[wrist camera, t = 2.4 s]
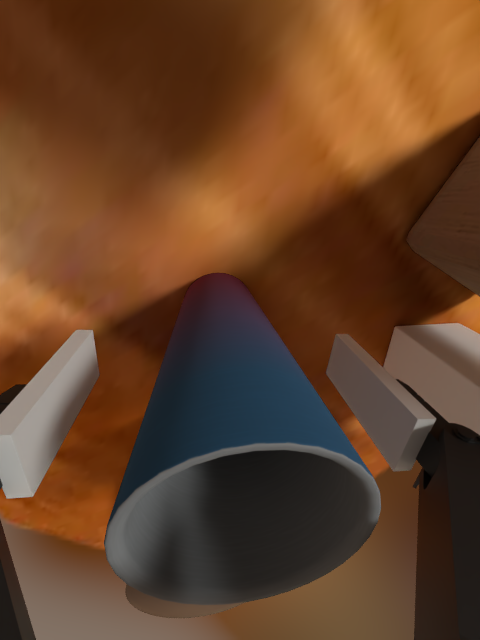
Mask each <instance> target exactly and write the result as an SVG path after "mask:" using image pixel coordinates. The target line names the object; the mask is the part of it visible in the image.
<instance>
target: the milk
mask: <svg viewBox="0 0 480 640" xmlns="http://www.w3.org/2000/svg"><path fill="white" fill-rule="evenodd" d="M383 368H384V369H385V370H386V371H387V372H388V373H389V374H390V375H391V376H392V377H394V378H395V379H399V380H400V381H402V382H404V383H405V384H407V385H409V386H410V387H411V388H412V389H413V390H414V391H415V392H416V393H417V395H420V396H421V397H422V398H423V399H424V401H426V402H427V403H428V404H429V405H430V406H431V407H432V408H434V409H435V410H436V411H437V412H438V413H439V414H440V415H441V416H442V417H443V418H444V419H445V420H447V421H448V422H449V423H456V424H460V425H463V426H465V427H467V428H469V429H471V430H473V431H474V432H476V433H477V434H479V435H480V334H478V333H476V332H474V331H473V330H471V329H469V328H467V327H465V326H463V325H461V324H459V323H447V324H428V325H409V326H395V328H394V331H393V335H392V338H391V342H390V345H389V348H388V352H387V355H386V359H385V362H384V366H383Z"/></svg>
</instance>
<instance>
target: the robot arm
mask: <svg viewBox="0 0 480 640" xmlns="http://www.w3.org/2000/svg"><path fill="white" fill-rule="evenodd" d="M326 374H327V376H328V377H329V379H330V380H331V382H332V383H333V385H334V386H335V387H336V389H337V390H338V392H339V393H340V395H341V396H342V398H343V399H344V400H345V402H346V403H347V405H348V406H349V408H350V409H351V411H352V412H353V413H354V415H355V416H356V418H357V419H358V421H359V422H360V424H361V425H362V426H363V428H364V429H365V431H366V432H367V434H368V435H369V436H370V438H371V439H372V441H373V442H374V444H375V445H376V447H377V448H378V449H379V451H380V452H381V454H382V455H383V457H384V458H385V460H386V461H387V462H388V464H389V465H390V467H391V468H392V470H393V471H407V470H411V469H412V467H413V465H414V463H415V461H416V460H417V461H418V462H419V463H420V465H421V466H422V469H421V472H420V473H419V475H418V477H417V479H416V481H415V483H414V485H413V487H414V488H416V487H417V485H419V505H418V536H417V539H418V540H417V567H416V598H415V629H414V640H480V435H479V434H477V433H476V432H474V431H473V430H471V429H469V428H467V427H465V426H463V425H460V424H456V423H449V422H448V421H447V420H445V419H444V418H443V417H442V416H441V415H440V414H439V413H438V412H437V411H436V410H435V409H434V408H432V407H431V406H430V405H429V404H428V403H427V402H426V401H424V399H423V398H422V397H421V396H420V395H417V393H416V392H415V391H414V390H413V389H412V388H411V387H410V386H409V385H407V384H405V383H404V382H402V381H400V380H399V379H395V378H394V377H392V376H391V375H390V374H389V373H388V372H387V371H386V370H385V369H384V368H383V367H382V366H381V365H380V364H379V363H378V362H377V361H376V360H375V359H374V358H373V357H372V356H371V355H370V354H368V353H367V352H366V351H365V350H364V349H363V348H362V347H361V346H360V345H359V344H358V343H357V342H356V341H355V340H354V339H353V338H352V337H351V336H350V335H349V334H336V335H335V339H334V343H333V347H332V351H331V355H330V359H329V362H328V366H327V370H326ZM98 377H99V368H98V361H97V355H96V348H95V342H94V335H93V330H76V331H75V332H74V333H73V334H72V335H71V336H70V337H69V338H68V340H67V341H66V342H65V343H64V344H63V345H62V346H61V347H60V348H59V350H58V351H57V352H56V353H55V354H54V355H53V356H52V357H51V359H50V360H49V361H48V362H47V363H46V364H45V365H44V366H43V367H42V369H41V370H40V371H39V372H38V373H37V374H36V375H35V376H34V377H33V379H32V380H31V381H30V382H29V383H28V384H27V385H15V386H13V387H12V388H10V389H9V390H7V391H5V392H4V393H2V394H1V395H0V489H1V487H2V488H3V491H4V493H5V495H6V498H21V497H33V496H34V494H35V492H36V490H37V488H38V487H39V485H40V483H41V481H42V479H43V477H44V476H45V474H46V472H47V470H48V468H49V467H50V465H51V463H52V461H53V459H54V457H55V456H56V454H57V452H58V450H59V448H60V446H61V445H62V443H63V441H64V439H65V437H66V436H67V434H68V432H69V430H70V428H71V426H72V425H73V423H74V421H75V419H76V417H77V415H78V414H79V412H80V410H81V408H82V406H83V405H84V403H85V401H86V399H87V397H88V395H89V394H90V392H91V390H92V388H93V386H94V384H95V383H96V381H97V379H98ZM0 640H36V638H35V635H34V631H33V628H32V625H31V621H30V618H29V615H28V611H27V608H26V605H25V601H24V598H23V595H22V591H21V588H20V584H19V581H18V578H17V574H16V571H15V568H14V564H13V561H12V557H11V554H10V551H9V548H8V544H7V541H6V537H5V534H4V531H3V527H2V524H1V520H0Z"/></svg>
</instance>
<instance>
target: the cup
mask: <svg viewBox="0 0 480 640" xmlns="http://www.w3.org/2000/svg"><path fill="white" fill-rule="evenodd" d="M380 510H381V500H380V491H379V489H378V486H377V484H376V482H375V480H374V478H373V476H372V474H371V473H370V471H369V470H368V468H367V467H366V465H365V464H364V462H363V461H362V459H361V458H360V456H359V455H358V453H357V452H356V450H355V449H354V447H353V446H352V444H351V443H350V441H349V440H348V438H347V437H346V435H345V434H344V432H343V431H342V429H341V428H340V426H339V425H338V423H337V422H336V420H335V419H334V417H333V416H332V414H331V413H330V411H329V410H328V408H327V407H326V405H325V404H324V402H323V401H322V399H321V398H320V396H319V395H318V393H317V392H316V390H315V389H314V387H313V386H312V384H311V383H310V381H309V380H308V378H307V377H306V375H305V374H304V372H303V371H302V369H301V368H300V366H299V365H298V363H297V362H296V361H295V359H294V358H293V356H292V355H291V353H290V352H289V350H288V349H287V347H286V346H285V344H284V343H283V341H282V340H281V338H280V337H279V335H278V334H277V332H276V331H275V329H274V328H273V326H272V325H271V323H270V322H269V320H268V319H267V317H266V316H265V314H264V313H263V311H262V310H261V308H260V307H259V305H258V304H257V302H256V301H255V299H254V298H253V296H252V295H251V293H250V292H249V290H248V289H247V287H246V286H245V285H244V284H243V282H241V281H240V280H239V279H238V278H236V277H234V276H232V275H229V274H225V273H212V274H208V275H205V276H202V277H201V278H199V279H197V280H196V281H195V282H194V283H192V284H191V286H190V287H189V288H188V290H187V292H186V294H185V297H184V300H183V303H182V306H181V308H180V311H179V314H178V317H177V320H176V323H175V326H174V329H173V332H172V335H171V338H170V341H169V344H168V347H167V350H166V353H165V356H164V359H163V362H162V365H161V368H160V371H159V374H158V377H157V380H156V383H155V386H154V388H153V391H152V394H151V397H150V400H149V403H148V406H147V409H146V412H145V415H144V418H143V421H142V424H141V427H140V430H139V433H138V436H137V439H136V442H135V445H134V448H133V451H132V454H131V457H130V460H129V463H128V466H127V468H126V471H125V474H124V477H123V480H122V483H121V486H120V489H119V492H118V495H117V498H116V501H115V504H114V507H113V510H112V513H111V516H110V519H109V522H108V525H107V530H106V535H105V540H104V545H105V551H106V556H107V560H108V562H109V564H110V565H111V567H112V569H113V571H114V572H115V574H116V575H117V576H119V577H120V578H121V579H122V580H123V581H124V582H125V583H126V584H127V585H129V586H131V587H133V588H134V589H136V590H138V591H140V592H142V593H144V594H146V595H149V596H152V597H155V598H158V599H161V600H166V601H171V602H176V603H181V604H194V605H225V604H234V603H242V602H249V601H254V600H258V599H263V598H268V597H271V596H275V595H278V594H281V593H285V592H288V591H291V590H293V589H295V588H298V587H301V586H303V585H305V584H308V583H310V582H312V581H314V580H316V579H318V578H320V577H322V576H324V575H326V574H327V573H329V572H331V571H332V570H334V569H335V568H337V567H338V566H340V565H341V564H343V563H344V562H345V561H346V560H348V559H349V558H350V557H351V556H352V555H353V554H354V553H356V552H357V551H358V550H359V549H360V548H361V546H362V545H363V544H364V543H365V542H366V540H367V539H368V538H369V537H370V535H371V533H372V531H373V530H374V528H375V526H376V524H377V522H378V518H379V514H380Z"/></svg>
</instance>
